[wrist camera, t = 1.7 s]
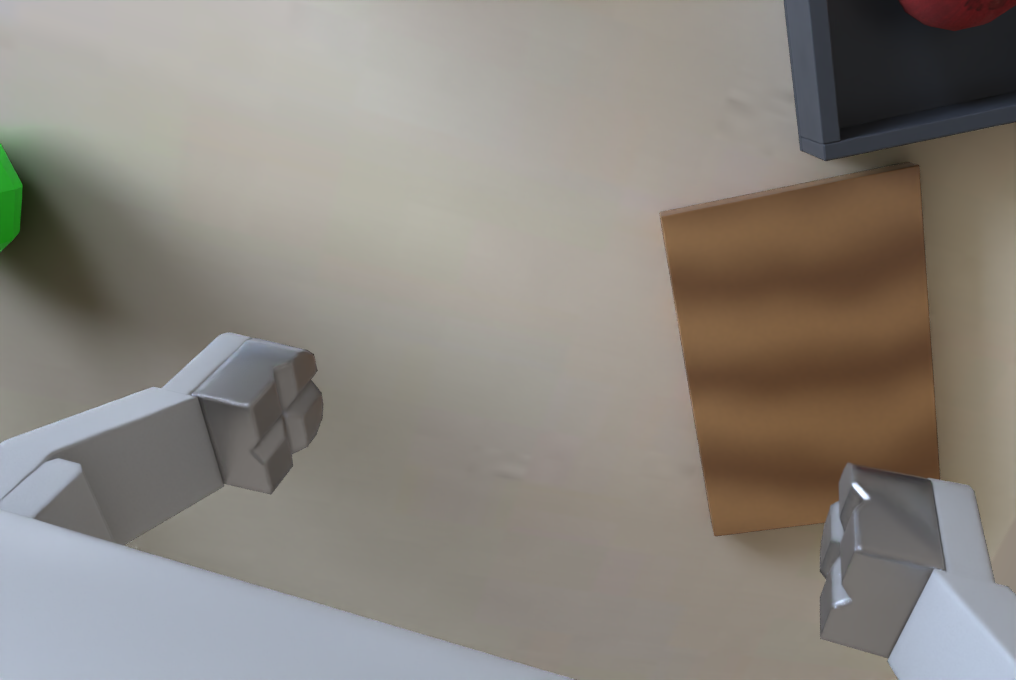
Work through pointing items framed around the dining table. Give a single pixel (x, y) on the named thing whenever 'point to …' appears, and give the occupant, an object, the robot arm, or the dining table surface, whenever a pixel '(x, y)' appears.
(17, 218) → the plastic bottle
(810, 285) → the cutting board
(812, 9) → the tub
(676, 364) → the dining table surface
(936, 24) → the red pomegranate
